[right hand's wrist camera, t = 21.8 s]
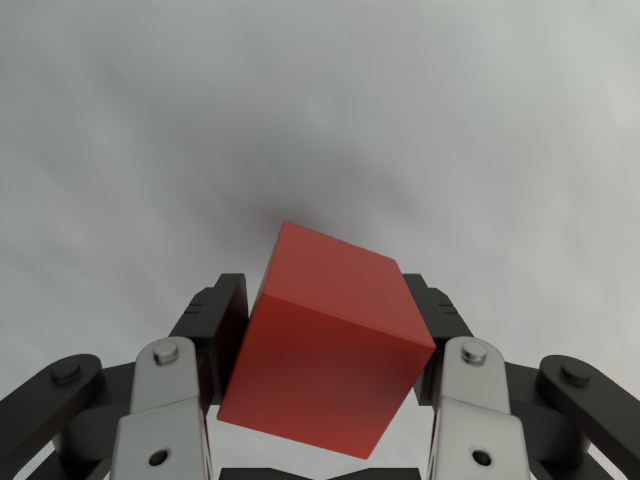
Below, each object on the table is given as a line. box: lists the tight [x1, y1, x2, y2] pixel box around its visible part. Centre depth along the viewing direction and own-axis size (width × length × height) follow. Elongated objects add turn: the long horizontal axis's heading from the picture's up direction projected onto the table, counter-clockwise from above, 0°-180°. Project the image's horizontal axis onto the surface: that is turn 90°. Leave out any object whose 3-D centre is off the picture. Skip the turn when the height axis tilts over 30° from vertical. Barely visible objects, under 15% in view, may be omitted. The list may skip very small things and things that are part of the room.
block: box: [217, 221, 436, 460], centre depth 11 cm, size 4×4×5 cm
